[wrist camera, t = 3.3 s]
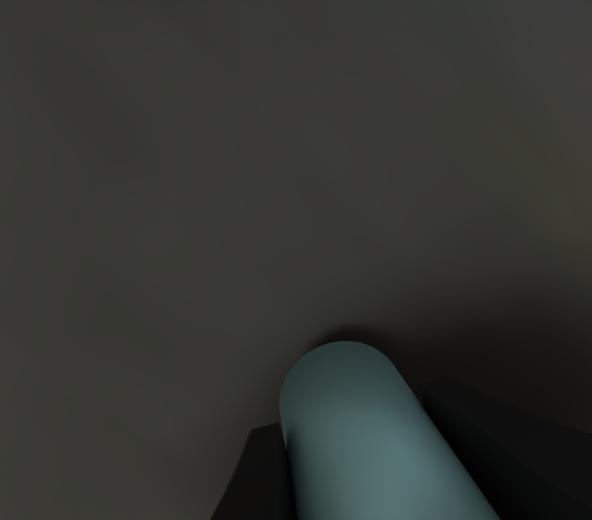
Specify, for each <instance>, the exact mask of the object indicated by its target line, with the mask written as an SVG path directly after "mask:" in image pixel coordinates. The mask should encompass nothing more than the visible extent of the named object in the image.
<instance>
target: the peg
mask: <svg viewBox="0 0 592 520" xmlns="http://www.w3.org/2000/svg"><path fill="white" fill-rule="evenodd" d="M279 411H280V417H281V423H282V429H283V435H284V441H285V447H286V451H287V457H288V463H289V469H290V474H291V480H292V488H293V494H294V500H295V506H296V512H297V518H298V520H501V519H500V518H499V517H498V515H497V514H496V512H495V511H494V509H493V508H492V506H491V505H490V504H489V502H488V501H487V499H486V498H485V496H484V495H483V493H482V492H481V491H480V489H479V488H478V486H477V485H476V483H475V482H474V480H473V479H472V478H471V476H470V475H469V473H468V472H467V470H466V469H465V467H464V466H463V465H462V463H461V462H460V460H459V459H458V457H457V456H456V454H455V453H454V452H453V450H452V449H451V447H450V446H449V444H448V443H447V441H446V440H445V439H444V437H443V436H442V434H441V433H440V431H439V430H438V428H437V427H436V426H435V424H434V423H433V421H432V420H431V418H430V417H429V415H428V414H427V413H426V411H425V410H424V408H423V407H422V405H421V404H420V402H419V401H418V399H417V398H416V397H415V395H414V394H413V392H412V391H411V389H410V388H409V386H408V385H407V384H406V382H405V381H404V379H403V378H402V376H401V375H400V373H399V372H398V371H397V369H396V368H395V366H394V365H393V363H392V362H391V361H390V360H389V359H388V358H387V357H386V356H385V355H384V354H383V353H381V352H380V351H378V350H377V349H375V348H373V347H371V346H369V345H366V344H363V343H359V342H353V341H339V342H332V343H328V344H325V345H322V346H319V347H317V348H315V349H313V350H311V351H310V352H308V353H306V354H305V355H304V356H302V357H301V358H300V359H299V360H298V361H297V362H296V363H295V364H294V365H293V366H292V368H291V369H290V370H289V372H288V373H287V375H286V377H285V379H284V381H283V384H282V386H281V390H280V395H279Z"/></svg>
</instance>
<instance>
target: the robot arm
mask: <svg viewBox="0 0 592 520" xmlns="http://www.w3.org/2000/svg"><path fill="white" fill-rule="evenodd" d="M420 388H421V393H422V399H423V404H424V409H425V411H426V413H427V414H428V415H429V417H430V418H431V420H432V421H433V423H434V424H435V426H436V427H437V428H438V430H439V431H440V433H441V434H442V436H443V437H444V439H445V440H446V441H447V443H448V444H449V446H450V447H451V449H452V450H453V452H454V453H455V454H456V456H457V457H458V459H459V460H460V462H461V463H462V465H463V466H464V467H465V469H466V470H467V472H468V473H469V475H470V476H471V478H472V479H473V480H474V482H475V483H476V485H477V486H478V488H479V489H480V491H481V492H482V493H483V495H484V496H485V498H486V499H487V501H488V502H489V504H490V505H491V506H492V508H493V509H494V511H495V512H496V514H497V515H498V517H499V518H500V519H501V520H592V434H588V433H585V432H581V431H578V430H574V429H571V428H568V427H565V426H562V425H559V424H556V423H554V422H551V421H548V420H545V419H543V418H540V417H537V416H534V415H532V414H529V413H527V412H524V411H522V410H519V409H517V408H515V407H512V406H510V405H507V404H505V403H503V402H501V401H498V400H496V399H494V398H492V397H489V396H487V395H485V394H483V393H481V392H479V391H476V390H474V389H472V388H470V387H468V386H466V385H463V384H461V383H459V382H457V381H454V380H452V379H450V378H447V377H445V378H441V379H437V380H433V381H430V382H426V383H422V384H420ZM210 520H298V518H297V512H296V506H295V500H294V494H293V488H292V480H291V474H290V469H289V463H288V457H287V451H286V448H285V444H284V440H283V437H282V433H281V429H280V425H279V423H275V424H271V425H268V426H264V427H260V428H257V429H253V430H251V432H250V433H249V435H248V437H247V441H246V443H245V446H244V449H243V452H242V454H241V457H240V459H239V462H238V464H237V467H236V469H235V471H234V473H233V475H232V478H231V480H230V482H229V484H228V486H227V488H226V491H225V493H224V495H223V497H222V498H221V500H220V502H219V504H218V506H217V508H216V509H215V511H214V513H213V515H212V517H211V519H210Z"/></svg>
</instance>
